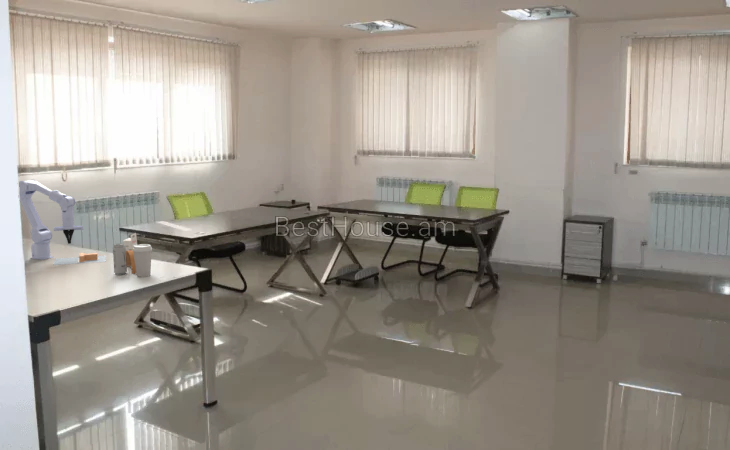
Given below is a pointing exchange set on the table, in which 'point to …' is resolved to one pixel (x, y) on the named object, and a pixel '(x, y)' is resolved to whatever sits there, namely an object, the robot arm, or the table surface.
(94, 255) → the t block
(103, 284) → the table surface
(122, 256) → the energy drink can
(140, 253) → the coffee cup
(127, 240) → the ink cartridge box
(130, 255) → the arch
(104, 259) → the board
